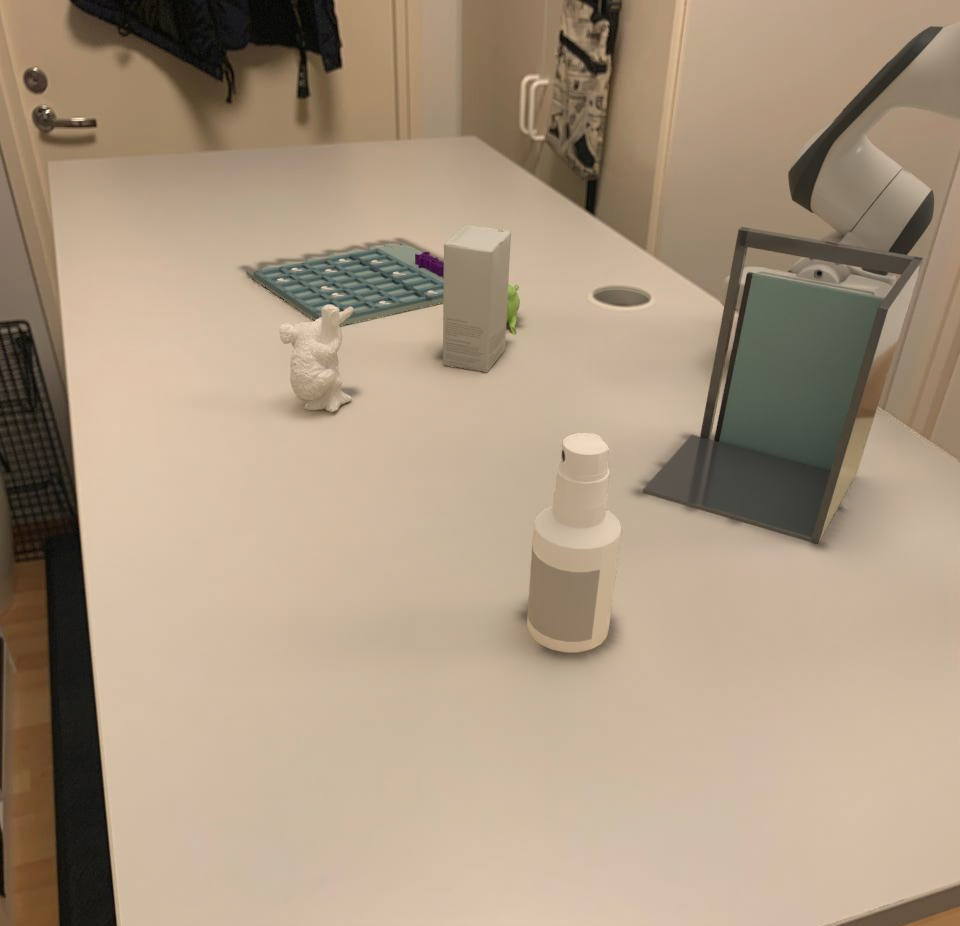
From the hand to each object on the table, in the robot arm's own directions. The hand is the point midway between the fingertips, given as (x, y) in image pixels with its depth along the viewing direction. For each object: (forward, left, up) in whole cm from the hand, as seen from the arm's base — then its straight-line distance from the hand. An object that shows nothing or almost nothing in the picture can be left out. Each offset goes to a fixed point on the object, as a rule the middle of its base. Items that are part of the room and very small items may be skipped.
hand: (789, 321), depth 109 cm
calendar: (+53, -40, -10) cm, 67 cm away
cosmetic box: (+36, -12, -11) cm, 40 cm away
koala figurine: (+54, +3, -11) cm, 55 cm away
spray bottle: (+28, +46, -11) cm, 55 cm away
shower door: (+2, +13, -10) cm, 17 cm away
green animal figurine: (+33, -24, -10) cm, 42 cm away
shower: (+7, +22, -10) cm, 25 cm away
